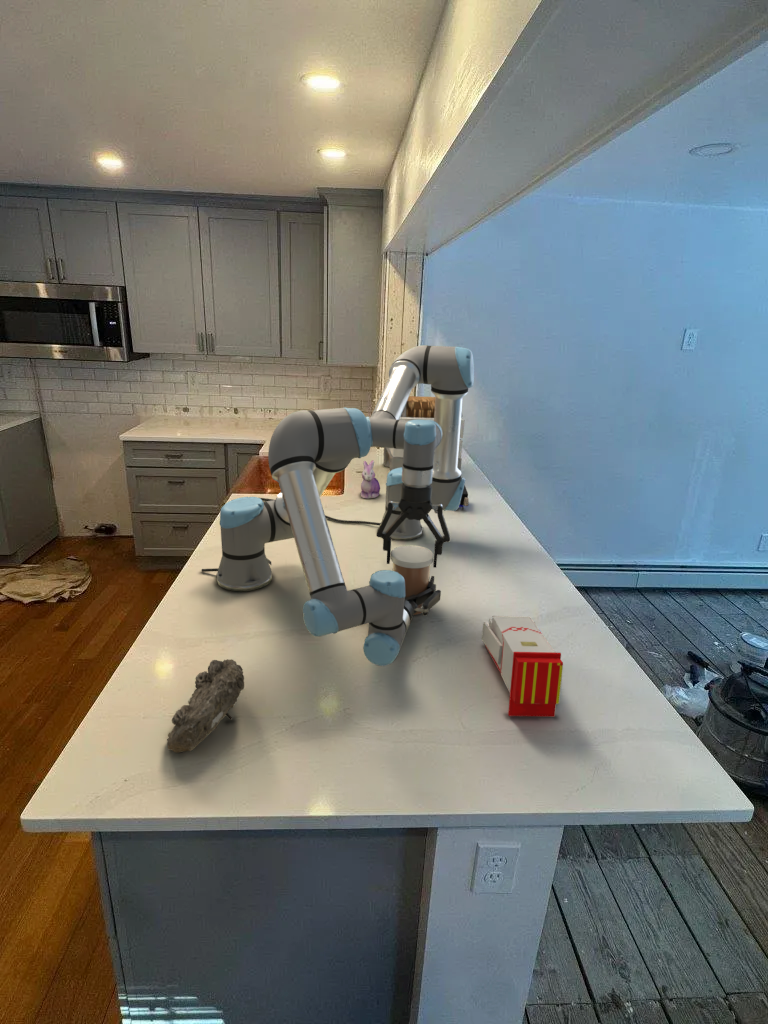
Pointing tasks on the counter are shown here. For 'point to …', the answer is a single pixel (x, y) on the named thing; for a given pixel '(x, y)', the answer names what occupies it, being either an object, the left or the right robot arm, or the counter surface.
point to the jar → (414, 579)
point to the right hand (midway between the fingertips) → (411, 563)
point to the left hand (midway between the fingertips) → (413, 577)
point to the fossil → (206, 705)
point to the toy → (525, 665)
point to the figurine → (369, 482)
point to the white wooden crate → (417, 411)
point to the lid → (412, 556)
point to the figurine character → (464, 498)
